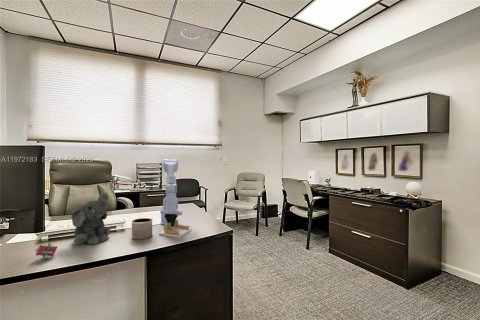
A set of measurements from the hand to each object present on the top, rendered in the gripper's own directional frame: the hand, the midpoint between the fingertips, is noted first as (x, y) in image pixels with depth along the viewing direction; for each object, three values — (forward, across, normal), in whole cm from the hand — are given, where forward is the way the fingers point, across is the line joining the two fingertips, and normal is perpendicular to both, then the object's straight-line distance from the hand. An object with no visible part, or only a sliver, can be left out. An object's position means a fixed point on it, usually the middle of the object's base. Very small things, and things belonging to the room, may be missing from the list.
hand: (171, 226), depth 140 cm
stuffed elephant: (+4, -33, -26) cm, 42 cm away
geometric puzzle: (+4, -31, -49) cm, 58 cm away
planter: (+4, -11, -12) cm, 17 cm away
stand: (+4, +3, 0) cm, 5 cm away
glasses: (+2, +4, 0) cm, 4 cm away
